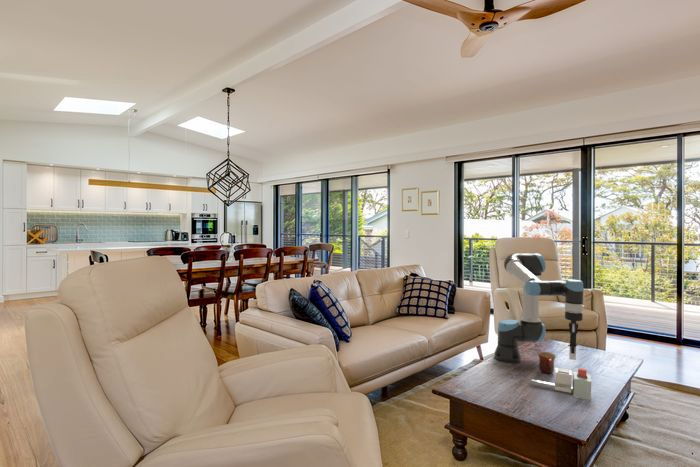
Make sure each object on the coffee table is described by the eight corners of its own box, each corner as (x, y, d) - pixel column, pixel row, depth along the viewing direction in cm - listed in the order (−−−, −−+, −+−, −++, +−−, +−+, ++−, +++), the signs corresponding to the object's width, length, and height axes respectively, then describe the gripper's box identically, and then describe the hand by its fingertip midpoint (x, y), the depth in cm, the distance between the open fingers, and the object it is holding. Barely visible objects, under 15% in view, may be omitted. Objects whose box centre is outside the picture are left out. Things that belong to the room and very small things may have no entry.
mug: (535, 369, 221) (536, 351, 220) (552, 370, 219) (552, 352, 218) (541, 377, 209) (542, 358, 208) (559, 379, 207) (559, 360, 207)
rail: (530, 385, 198) (530, 380, 198) (531, 383, 201) (531, 379, 200) (575, 394, 189) (575, 389, 189) (575, 392, 191) (575, 387, 191)
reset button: (578, 376, 188) (578, 370, 188) (577, 373, 191) (577, 367, 191) (586, 377, 186) (586, 371, 186) (586, 375, 189) (586, 369, 189)
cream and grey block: (554, 389, 191) (555, 371, 191) (554, 384, 197) (555, 366, 197) (571, 392, 188) (571, 374, 187) (570, 387, 194) (571, 369, 194)
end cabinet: (572, 396, 186) (573, 378, 186) (572, 388, 195) (572, 371, 195) (590, 400, 183) (591, 381, 182) (589, 392, 192) (589, 374, 191)
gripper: (583, 315, 182) (581, 364, 182) (582, 309, 193) (581, 356, 194) (564, 313, 185) (563, 361, 186) (565, 308, 197) (564, 353, 197)
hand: (572, 359), depth 190 cm, fingers closed
